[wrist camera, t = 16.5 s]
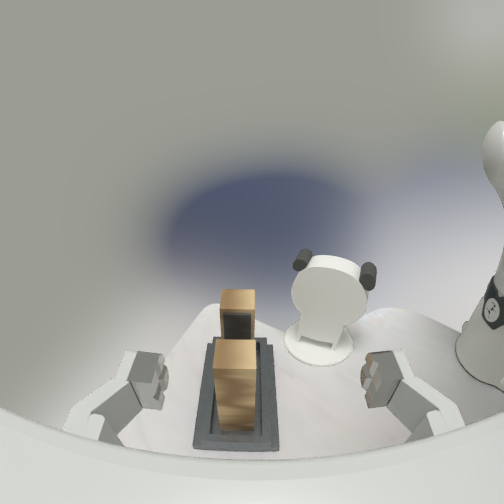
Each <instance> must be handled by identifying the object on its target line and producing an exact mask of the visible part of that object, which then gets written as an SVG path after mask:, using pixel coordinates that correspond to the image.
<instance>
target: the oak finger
mask: <svg viewBox="0 0 504 504" xmlns="http://www.w3.org/2000/svg"><path fill="white" fill-rule="evenodd" d="M213 376H214V385H215V393H216V401H217V409H218V416H219V424H220V430H227V431H254V417H255V392H256V340H233V339H216V344H215V352H214V360H213Z"/></svg>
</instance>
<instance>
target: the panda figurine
mask: <svg viewBox="0 0 504 504" xmlns="http://www.w3.org/2000/svg"><path fill="white" fill-rule="evenodd" d="M293 269H294V270H296V271H299V273H298V275H297V277H296V279H295V281H294V283H293V285H292V289H291V297H292V301H293V303H294V305H295V307H296V308H297V310H298V311H299V312H300V321H297V322H295V323H294V324H292V325H291V326H290V327H289V328H288V329H287V331H286V333H285V338H284V342H285V346H286V349H287V350H288V352H289V353H290V354H291V355H292V356H293V357H294V358H295V359H297V360H298V361H300V362H302V363H305V364H307V365H311V366H317V367H327V366H333V365H336V364H339V363H341V362H343V361H344V360H345V359H346V358H348V356H349V355H350V353H351V351H352V348H353V340H352V337H351V335H350V333H349V332H348V331H347V330H346V329H345V328H344V326H346V325H349V324H352V323H354V322H356V321H357V320H358V319H360V318H361V317H362V316H363V315H364V313H365V311H366V307H367V300H368V293H369V291H370V290H372V289H374V287H375V283H376V273H377V270H376V267H375V265H374V264H373V263H371V262H366V263H364V264H363V265H362V268H361V269H360V268H359V266H357V265H356V264H355V263H353V262H351V261H349V260H346V259H343V258H340V257H336V256H328V255H318V256H314V257H312V252H311V251H310V250H308V249H302V250H301V252H300V253H299V255H298V256H297V258H296V260H295V261H294V263H293Z"/></svg>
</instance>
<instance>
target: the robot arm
mask: <svg viewBox="0 0 504 504" xmlns="http://www.w3.org/2000/svg"><path fill="white" fill-rule="evenodd" d="M482 161H483V166H484V169H485V172H486V175H487V177H488V179H489V181H490V183H491V184H492V185H493V187H494V188H495V190H496V191H497V193H498V195H499V197H500V199H501V201H502V204H503V207H504V121H498V122H497V123H495V124H494V125H493V126H492V127H491V128H490V130H489V131H488V132H487V134H486V136H485V139H484V142H483V147H482ZM456 353H457V356H458V359H459V361H460V362H461V364H462V365H463V367H464V368H465V369H466V370H467V371H468V372H469V373H470V374H471V375H473V376H474V377H475V378H477V379H479V380H480V381H483V382H485V383H488V384H491V385H494V386H496V387H498V388H499V389H501V390H502V391H504V248H503V252H502V256H501V259H500V262H499V265H498V269H497V271H496V274H495V275H494V276H493V277H492V279H491V281H490V283H489V284H488V287H487V290H486V293H485V295H484V297H482V298H481V300H480V302H479V304H478V305H477V307H476V309H475V311H474V313H473V314H472V316H471V318H470V320H469V321H466V322H465V323H464V324H463V326H462V334H461V335H460V336H459V338H458V339H457V342H456ZM365 360H366V364H365V365H364V366H363V367H362V370H361V377H360V379H361V385H362V388H363V389H365V390H366V391H367V392H366V394H365V399H366V402H367V406H368V408H376V407H384V406H387V408H388V409H389V410H390V411H391V412H392V413H393V414H394V415H395V416H396V417H397V418H398V419H399V420H400V421H401V422H402V423H403V424H404V425H405V426H406V427H407V428H408V429H409V430H410V431H411V432H412V434H411V435H410V437H409V438H408V439H407V440H406V442H405V443H404V444H400V445H395V446H390V447H385V448H380V449H375V450H369V451H363V452H357V453H350V454H343V455H334V456H325V457H314V458H301V459H281V460H233V459H213V458H200V457H189V456H180V455H172V454H164V453H158V452H151V451H145V450H139V449H134V448H129V447H124V445H123V443H122V442H121V441H120V439H119V438H118V437H117V434H118V433H119V432H120V431H121V430H122V429H123V428H124V427H125V426H126V425H127V424H128V423H129V422H130V421H131V420H132V419H133V418H134V417H135V416H136V415H137V414H138V413H139V412H140V411H141V410H142V408H146V409H155V410H162V407H163V403H164V399H165V396H164V393H163V392H164V391H165V390H166V389H167V386H168V379H169V375H168V369H167V367H166V366H165V365H164V362H165V359H164V356H163V354H158V353H150V352H141V351H131V350H127V351H126V352H125V354H124V356H123V359H122V361H121V364H120V366H119V369H118V371H117V374H116V376H115V379H110V380H109V381H108V382H106V383H105V384H103V385H102V386H101V387H99V388H98V389H97V390H95V391H94V392H92V393H91V394H90V395H88V396H87V397H86V398H84V399H83V400H81V401H80V402H79V403H77V404H76V405H74V406H73V407H72V409H71V411H70V413H69V416H68V418H67V420H66V423H65V425H64V428H63V430H59V429H56V428H53V427H50V426H47V425H44V424H41V423H39V422H36V421H33V420H31V419H28V418H26V417H23V416H21V415H18V414H16V413H13V412H11V411H9V410H7V409H4V408H1V407H0V504H504V411H502V412H500V413H498V414H495V415H493V416H490V417H488V418H485V419H483V420H480V421H477V422H475V423H472V424H469V425H465V423H464V421H463V418H462V416H461V414H460V412H459V409H458V407H457V405H456V404H455V403H454V402H453V401H451V400H450V399H448V398H447V397H446V396H444V395H443V394H441V393H440V392H439V391H437V390H436V389H434V388H433V387H432V386H430V385H429V384H428V383H426V382H425V381H423V380H422V379H421V378H419V377H415V375H414V373H413V371H412V369H411V366H410V364H409V362H408V360H407V358H406V356H405V353H404V351H403V350H402V349H399V350H391V351H381V352H372V353H368V354H367V356H366V358H365Z"/></svg>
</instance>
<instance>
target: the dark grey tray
mask: <svg viewBox="0 0 504 504" xmlns="http://www.w3.org/2000/svg"><path fill="white" fill-rule="evenodd" d="M216 339H221V337H213V343H212V344H211V343H208V344H207V351H206V357H205V363H204V370H203V376H202V383H201V390H200V397H199V404H198V411H197V418H196V425H195V432H194V440H193V448H194V449H204V450H219V451H279V434H278V418H277V402H276V387H275V372H274V357H273V345H267V338H254V340H256V392H255V417H254V431H227V430H220V424H219V416H218V409H217V401H216V393H215V385H214V376H213V360H214V352H215V344H216Z"/></svg>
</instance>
